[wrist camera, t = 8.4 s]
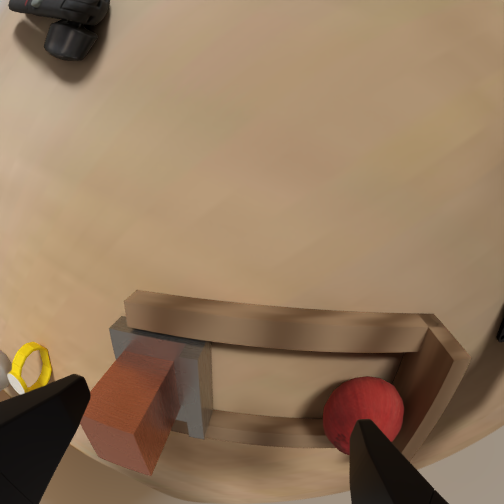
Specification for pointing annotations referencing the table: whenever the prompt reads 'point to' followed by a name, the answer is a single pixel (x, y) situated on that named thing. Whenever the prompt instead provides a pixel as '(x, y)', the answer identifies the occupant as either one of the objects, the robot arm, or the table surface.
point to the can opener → (66, 24)
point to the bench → (315, 339)
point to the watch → (18, 363)
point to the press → (148, 396)
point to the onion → (362, 409)
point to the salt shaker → (4, 370)
